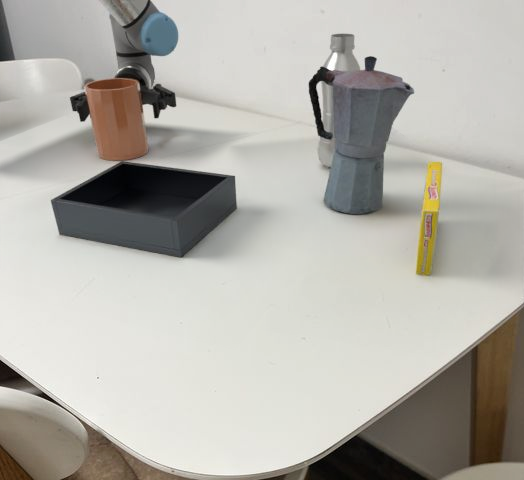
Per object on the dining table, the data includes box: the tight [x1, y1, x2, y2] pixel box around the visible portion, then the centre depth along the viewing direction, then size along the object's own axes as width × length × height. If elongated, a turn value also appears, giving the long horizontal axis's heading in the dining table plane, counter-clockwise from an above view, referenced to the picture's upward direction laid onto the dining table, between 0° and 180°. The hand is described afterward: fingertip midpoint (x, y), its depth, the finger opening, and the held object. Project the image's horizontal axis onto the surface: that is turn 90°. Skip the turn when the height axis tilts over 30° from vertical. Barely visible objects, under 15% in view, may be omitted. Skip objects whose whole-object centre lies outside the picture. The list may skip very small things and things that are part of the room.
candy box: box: [415, 161, 443, 276], centre depth 71 cm, size 16×2×8 cm, turn 165°
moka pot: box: [308, 55, 415, 215], centre depth 79 cm, size 10×15×20 cm, turn 60°
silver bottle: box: [317, 33, 361, 168], centre depth 93 cm, size 6×7×20 cm
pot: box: [83, 77, 149, 162], centre depth 104 cm, size 9×9×12 cm
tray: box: [50, 160, 238, 258], centre depth 81 cm, size 20×17×5 cm
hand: (118, 112), depth 105 cm, fingers open, 13 cm apart
